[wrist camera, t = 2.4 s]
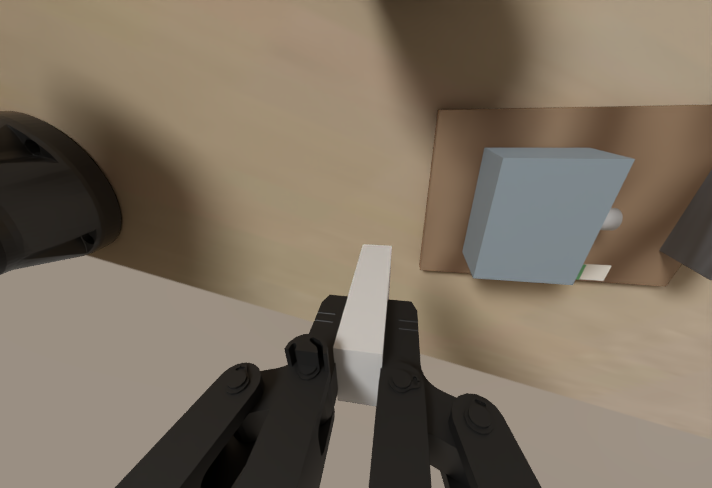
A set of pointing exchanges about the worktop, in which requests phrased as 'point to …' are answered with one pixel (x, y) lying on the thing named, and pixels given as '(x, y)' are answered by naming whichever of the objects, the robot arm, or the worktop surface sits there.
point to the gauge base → (635, 199)
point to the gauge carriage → (541, 211)
